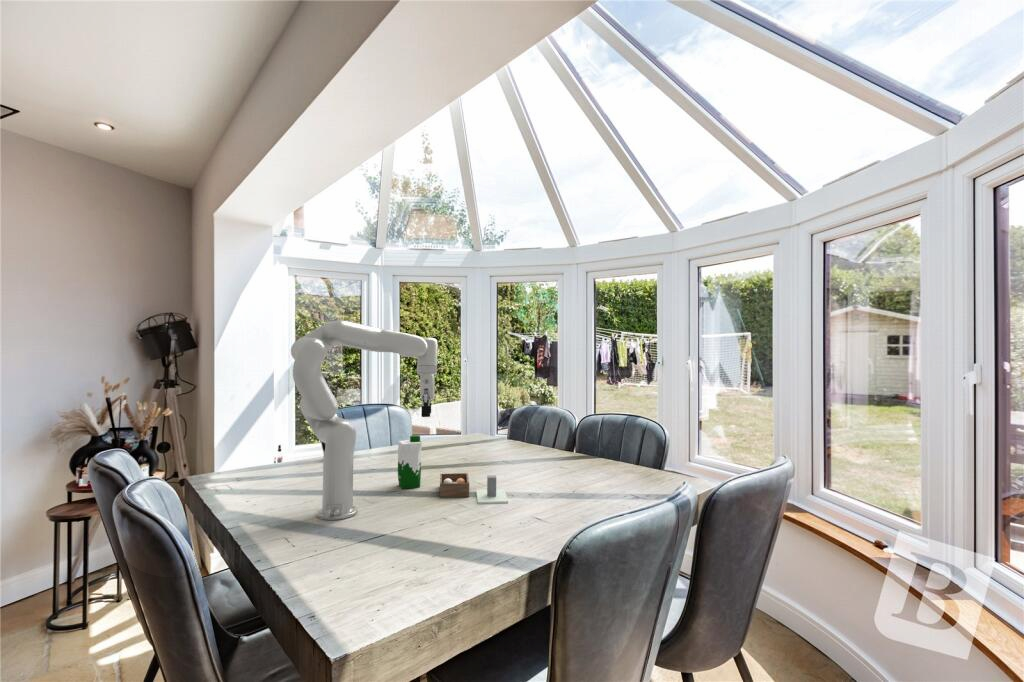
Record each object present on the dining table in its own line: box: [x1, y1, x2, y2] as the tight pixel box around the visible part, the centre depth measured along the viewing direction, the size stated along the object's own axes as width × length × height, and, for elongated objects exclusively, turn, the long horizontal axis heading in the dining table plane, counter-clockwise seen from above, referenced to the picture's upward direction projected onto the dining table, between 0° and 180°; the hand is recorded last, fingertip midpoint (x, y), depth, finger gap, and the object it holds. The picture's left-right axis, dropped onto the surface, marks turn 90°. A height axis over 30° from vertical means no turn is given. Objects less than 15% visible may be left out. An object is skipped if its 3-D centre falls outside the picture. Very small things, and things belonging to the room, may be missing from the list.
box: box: [439, 472, 470, 498], centre depth 184 cm, size 15×11×5 cm
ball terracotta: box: [456, 478, 465, 483], centre depth 187 cm, size 4×4×4 cm
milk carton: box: [397, 434, 423, 490], centre depth 191 cm, size 9×9×20 cm
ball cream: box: [443, 478, 452, 484], centre depth 187 cm, size 4×4×4 cm
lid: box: [475, 474, 509, 505], centre depth 177 cm, size 15×11×8 cm
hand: (426, 415), depth 179 cm, fingers open, 9 cm apart
